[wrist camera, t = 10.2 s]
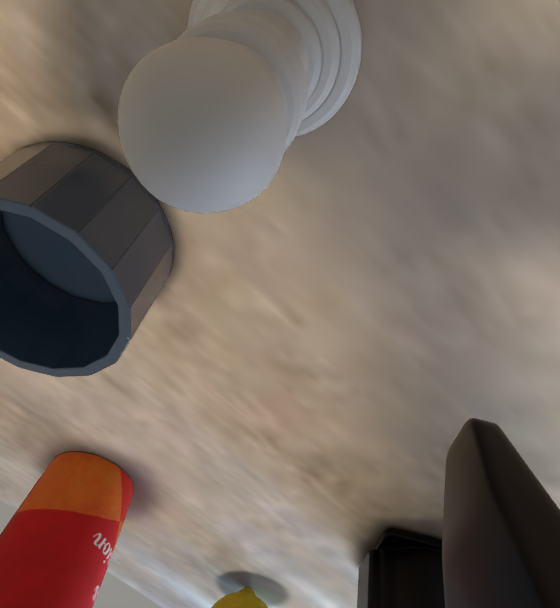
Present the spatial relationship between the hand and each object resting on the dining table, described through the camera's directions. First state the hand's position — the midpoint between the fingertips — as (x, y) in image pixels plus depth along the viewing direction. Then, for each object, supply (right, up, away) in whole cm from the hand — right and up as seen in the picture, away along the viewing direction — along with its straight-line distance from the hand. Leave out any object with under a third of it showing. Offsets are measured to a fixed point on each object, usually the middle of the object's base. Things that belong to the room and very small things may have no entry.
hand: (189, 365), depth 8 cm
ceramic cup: (-7, +4, +13) cm, 15 cm away
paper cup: (-11, -10, +25) cm, 29 cm away
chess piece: (+1, +9, +8) cm, 12 cm away
